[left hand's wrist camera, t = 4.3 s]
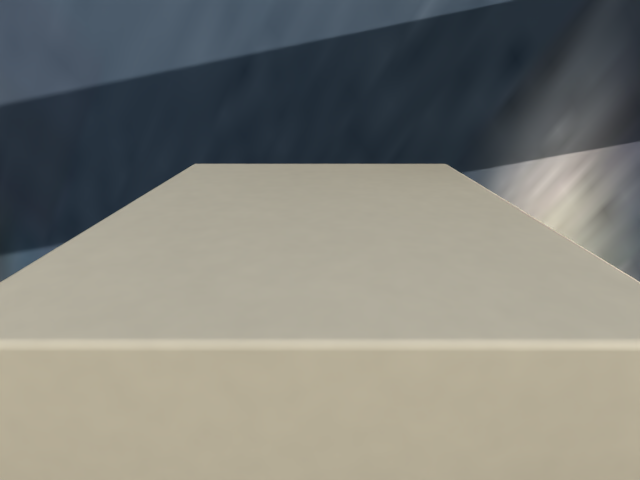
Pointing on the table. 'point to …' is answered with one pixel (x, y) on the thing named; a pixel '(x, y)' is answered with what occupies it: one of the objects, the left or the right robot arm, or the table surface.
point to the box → (320, 337)
